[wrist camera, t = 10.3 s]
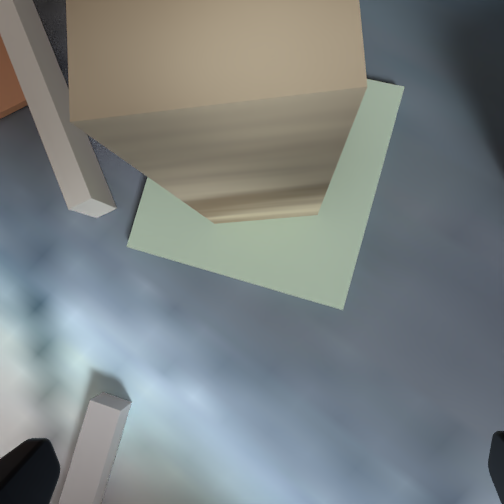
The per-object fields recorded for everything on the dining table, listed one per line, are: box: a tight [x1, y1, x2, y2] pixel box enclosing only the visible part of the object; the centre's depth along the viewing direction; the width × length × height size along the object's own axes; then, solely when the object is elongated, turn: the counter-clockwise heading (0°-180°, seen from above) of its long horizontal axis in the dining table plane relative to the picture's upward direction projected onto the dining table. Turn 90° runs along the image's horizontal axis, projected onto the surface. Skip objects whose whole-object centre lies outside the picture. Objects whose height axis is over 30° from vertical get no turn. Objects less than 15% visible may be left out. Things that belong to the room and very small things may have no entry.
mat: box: [127, 79, 404, 310], centre depth 19 cm, size 11×11×1 cm
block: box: [66, 0, 367, 224], centre depth 12 cm, size 5×5×12 cm
